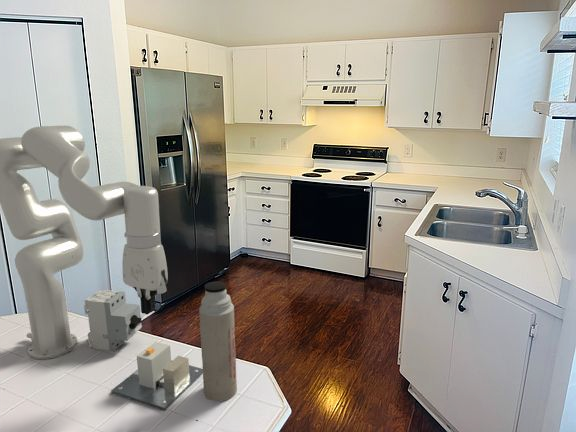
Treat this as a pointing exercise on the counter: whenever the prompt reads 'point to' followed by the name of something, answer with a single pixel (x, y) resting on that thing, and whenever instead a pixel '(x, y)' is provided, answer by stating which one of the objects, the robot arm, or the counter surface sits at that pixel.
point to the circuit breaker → (111, 319)
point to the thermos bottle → (218, 343)
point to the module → (153, 363)
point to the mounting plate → (161, 384)
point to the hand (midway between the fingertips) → (148, 311)
